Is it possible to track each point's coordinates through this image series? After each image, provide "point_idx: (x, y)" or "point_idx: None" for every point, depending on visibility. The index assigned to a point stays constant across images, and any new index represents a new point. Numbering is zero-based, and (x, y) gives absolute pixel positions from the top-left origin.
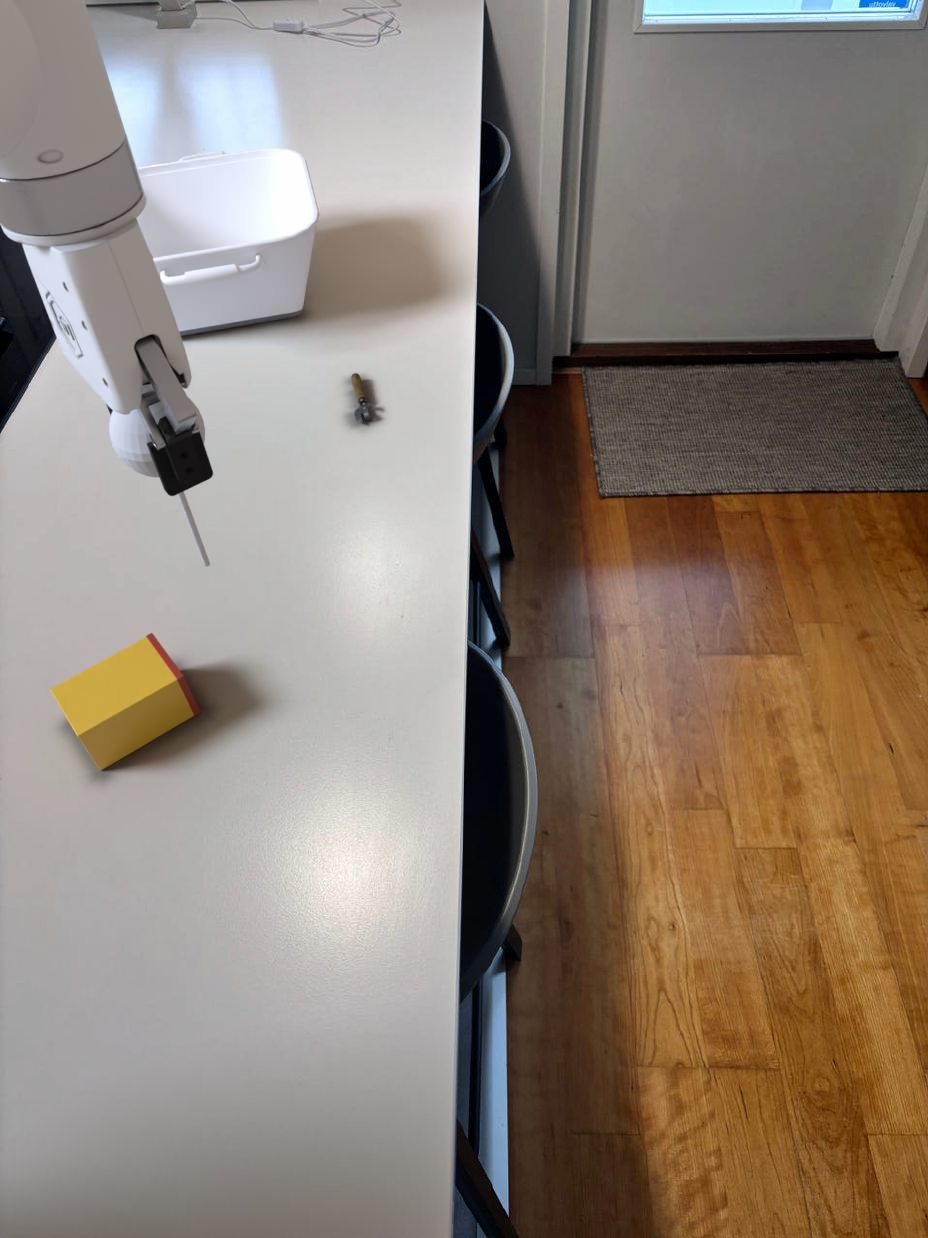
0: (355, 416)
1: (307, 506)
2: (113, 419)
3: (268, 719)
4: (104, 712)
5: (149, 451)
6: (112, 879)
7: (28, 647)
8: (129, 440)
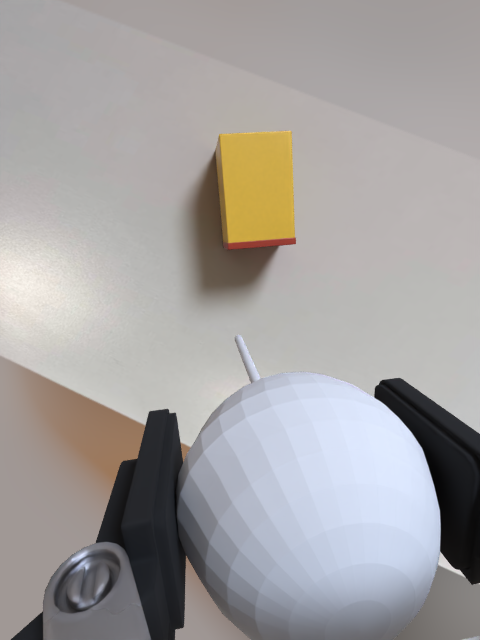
0: None
1: None
2: (352, 463)
3: (186, 291)
4: (231, 168)
5: (155, 494)
6: (104, 117)
7: (384, 142)
8: (243, 460)
